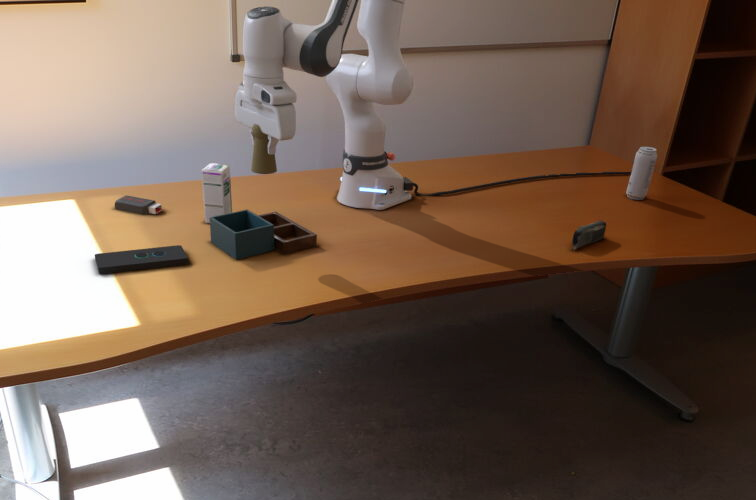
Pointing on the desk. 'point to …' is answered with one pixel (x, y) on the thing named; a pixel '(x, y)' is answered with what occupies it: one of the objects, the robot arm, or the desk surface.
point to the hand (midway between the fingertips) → (264, 150)
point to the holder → (289, 234)
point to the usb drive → (138, 205)
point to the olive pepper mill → (262, 153)
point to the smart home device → (140, 259)
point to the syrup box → (216, 190)
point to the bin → (242, 234)
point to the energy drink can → (641, 173)
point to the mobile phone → (588, 234)
